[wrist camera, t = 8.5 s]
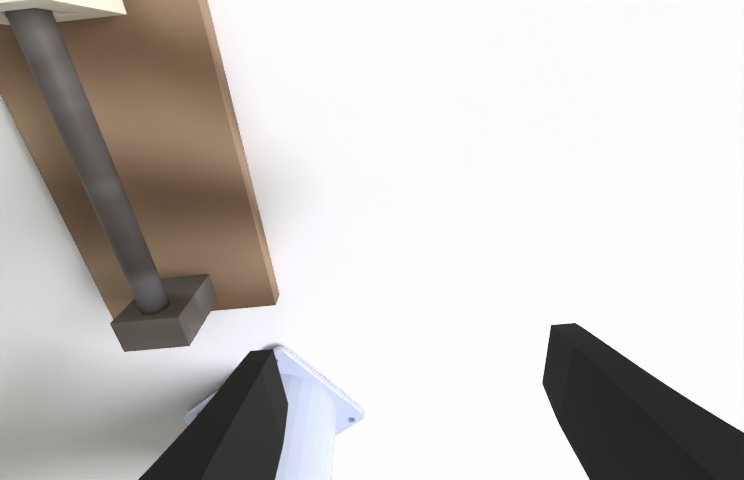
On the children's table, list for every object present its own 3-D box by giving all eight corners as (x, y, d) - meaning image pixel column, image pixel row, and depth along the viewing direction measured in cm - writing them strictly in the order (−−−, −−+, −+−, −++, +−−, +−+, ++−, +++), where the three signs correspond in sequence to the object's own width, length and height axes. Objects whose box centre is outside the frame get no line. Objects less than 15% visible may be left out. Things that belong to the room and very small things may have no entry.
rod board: (279, 294, 21) (255, 361, 16) (124, 308, 21) (56, 379, 17) (93, -464, 10) (-139, -913, 5) (-223, -421, 10) (-708, -818, 6)
